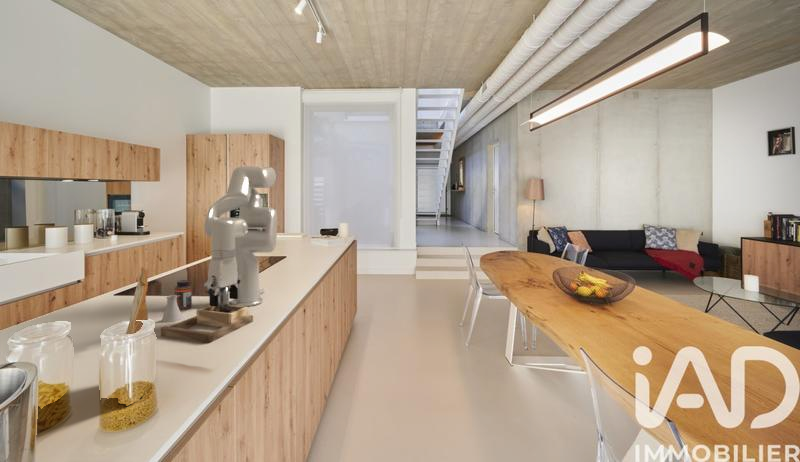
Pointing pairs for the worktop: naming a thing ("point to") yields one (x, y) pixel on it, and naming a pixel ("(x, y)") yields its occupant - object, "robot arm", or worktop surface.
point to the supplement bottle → (183, 294)
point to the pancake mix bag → (139, 304)
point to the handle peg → (224, 300)
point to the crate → (220, 315)
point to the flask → (172, 310)
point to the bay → (201, 336)
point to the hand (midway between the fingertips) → (224, 302)
